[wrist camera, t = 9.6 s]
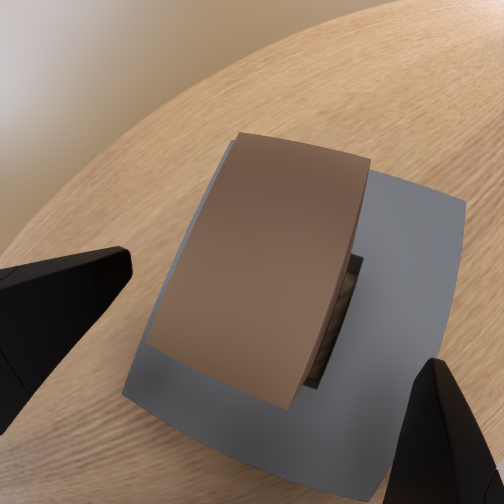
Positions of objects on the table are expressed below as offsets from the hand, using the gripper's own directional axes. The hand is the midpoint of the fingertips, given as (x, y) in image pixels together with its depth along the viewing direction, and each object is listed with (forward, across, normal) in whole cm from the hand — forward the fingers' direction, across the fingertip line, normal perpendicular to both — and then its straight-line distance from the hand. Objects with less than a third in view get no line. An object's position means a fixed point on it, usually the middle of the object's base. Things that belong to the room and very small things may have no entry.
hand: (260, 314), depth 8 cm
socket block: (+8, 0, +6) cm, 10 cm away
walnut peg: (+8, 0, +6) cm, 10 cm away
